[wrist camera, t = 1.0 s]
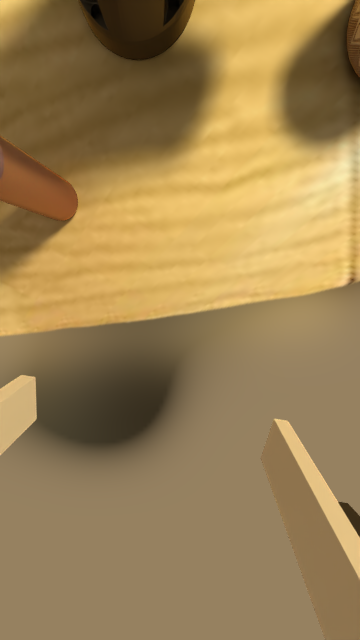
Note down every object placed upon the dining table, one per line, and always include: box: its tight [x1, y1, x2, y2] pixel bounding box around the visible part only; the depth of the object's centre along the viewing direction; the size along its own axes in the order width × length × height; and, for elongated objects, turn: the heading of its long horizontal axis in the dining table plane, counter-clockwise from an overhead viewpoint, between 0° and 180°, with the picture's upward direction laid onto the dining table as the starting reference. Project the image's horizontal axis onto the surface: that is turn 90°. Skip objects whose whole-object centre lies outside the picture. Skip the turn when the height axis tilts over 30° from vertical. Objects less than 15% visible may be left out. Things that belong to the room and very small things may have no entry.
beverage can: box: [0, 135, 78, 221], centre depth 26 cm, size 6×6×15 cm
